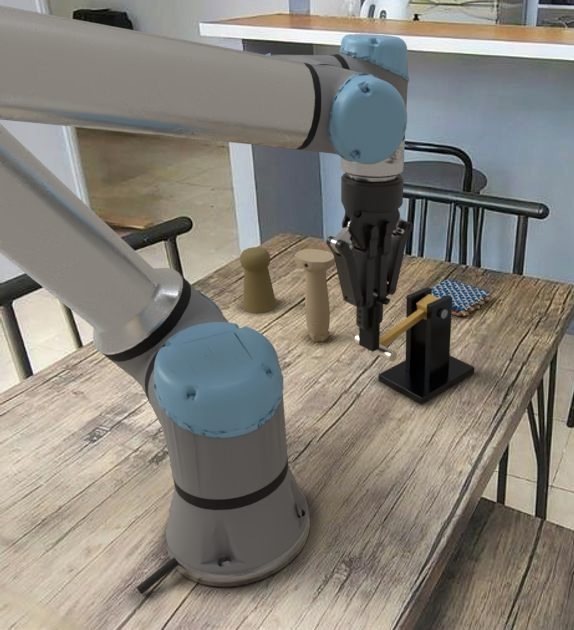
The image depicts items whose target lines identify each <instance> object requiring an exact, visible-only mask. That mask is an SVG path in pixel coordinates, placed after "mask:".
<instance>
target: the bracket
mask: <svg viewBox="0 0 574 630" xmlns="http://www.w3.org/2000/svg"><path fill="white" fill-rule="evenodd" d="M428 294H430V295H432V288H431V287H429V286H425V287H423V288H421V289H419V290H416V291H414V292H411V293H409V294H407V295H406V306H405V307H406V310H405V311H406V312H405V314H406V315H405V319H406V318H407V317H409V316H410V315H411V314H413V313H414V312H415V311H417V305H416V303H417V302H419V301H420V300H421V299H423V298H424V297H425V296H427V295H428ZM452 315H453V314H452V297H451V296H448V295H447V296H444V297H442V298H440V299H438V300H436V301H434V302H431V303H429V304H427V318H426V320H425V319H421V320H420V321H419V322H417V323H416V324H415V325H413V326H412V327H411V328H409V329H408V330H407V331H405V360H403V361H401V362H399V363H397V364H395V365H393V366H392V367H390V368H388V369H386V370H383V371H382V372H381V373H378V377H377V378H378V382H380V383H382V384H383V385H385V386H387V387H389V388H390V389H392V390H394V391H396V392H398V394H399V393H400V394H401V395H403V396H404V397H407V398H408V399H410V400H412V401H413V402H415V403H416V404H419V405H421V406H422V405H424V404H426V403H427V402H429V401H430V400H432V399H434V398H436V397H438V396H439V395H441V394H443V393H444V392H446V391H447V390H449V389H451V388H452V387H454V386H456V385H457V384H459V383H461V382H463V381H464V380H466V379H468V378H470V377H471V376H473V375H475V367H474V366H473V365H471V364H469V363H466V362H465V361H462V360H461V359H458V358H456V357H454V356H452V355H451V335H452V333H451V332H452Z"/></svg>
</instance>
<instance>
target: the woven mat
mask: <svg viewBox="0 0 574 630" xmlns="http://www.w3.org/2000/svg"><path fill="white" fill-rule="evenodd" d="M431 289H432V295H433V296H435V297H438V298H442V297H444V296H447V295H448V296H451V297H452V315H454V316H458V317H459V316H460V317H464V316H465V317H466V316H469V315H470V313H471V312H473V311H475V310H480V309H481V305H482V306H484V305H485V302H488V301H491V292H490V291H487V289H486V288H485V289H482V288H479V286H477V287H475V286H473V285H472V284H469V285H468V284H466V283H465V282H459V281H458V280H453V279H451V278H448V279H444V281H441V282H440V283H437V284H436V285H435V287H432V288H431Z"/></svg>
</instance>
